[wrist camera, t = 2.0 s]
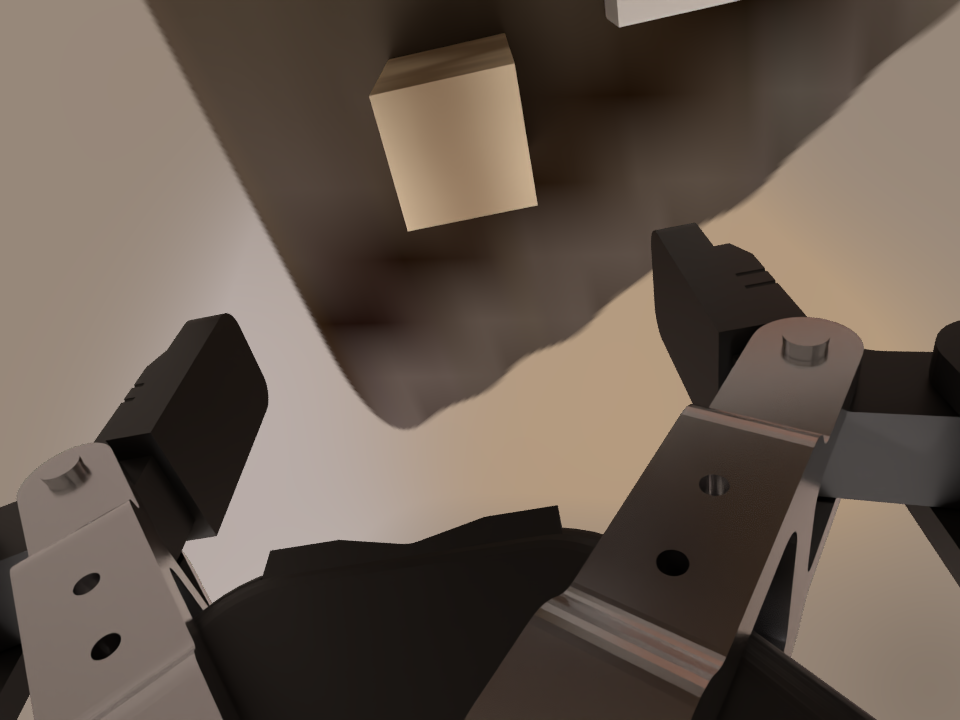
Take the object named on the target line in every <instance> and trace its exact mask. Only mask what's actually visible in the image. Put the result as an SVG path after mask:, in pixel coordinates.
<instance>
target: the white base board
mask: <svg viewBox="0 0 960 720" xmlns="http://www.w3.org/2000/svg"><path fill="white" fill-rule="evenodd" d="M604 1H605V13H606V18H607V19H608V20H610V21H611V22H612V23H614V24H615V25H616V26H618V27H623V26H628V25H632V24H637V23H641V22H645V21H650V20H654V19H659V18H663V17H668V16H672V15H676V14H681V13H685V12H690V11H694V10H699V9H703V8H707V7H712V6H716V5H721V4H725V3H730V2H734V1H738V0H604Z"/></svg>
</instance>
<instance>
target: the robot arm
mask: <svg viewBox="0 0 960 720" xmlns="http://www.w3.org/2000/svg"><path fill="white" fill-rule="evenodd" d="M651 250H652V267H653V283H654V301H655V313H656V319H657V324H658V328H659V332H660V335H661V338H662V340H663V342H664V344H665V346H666V349H667V351H668V353H669V355H670V357H671V359H672V361H673V363H674V365H675V367H676V370H677V372H678V374H679V376H680V378H681V380H682V382H683V384H684V386H685V388H686V390H687V392H688V395H689V397H690V399H691V401H692V403H693V404H690V405H688V406H687V407H686V408H685V409H684V410H683V412H682V413H681V415H680V416H679V418H678V419H677V421H676V422H675V424H674V426H673V427H672V429H671V430H670V432H669V433H668V435H667V436H666V438H665V439H664V441H663V443H662V444H661V446H660V447H659V449H658V450H657V452H656V454H655V455H654V457H653V458H652V460H651V461H650V463H649V464H648V466H647V467H646V469H645V471H644V472H643V474H642V475H641V477H640V478H639V480H638V481H637V483H636V485H635V486H634V488H633V489H632V491H631V492H630V494H629V496H628V497H627V499H626V500H625V502H624V503H623V505H622V506H621V508H620V510H619V511H618V512H617V514H616V516H615V517H614V519H613V520H612V522H611V523H610V525H609V527H608V528H607V530H606V531H605V533H604V534H600V533H596V532H592V531H586V530H580V529H572V528H562V525H561V520H560V515H559V510H558V506H550V507H544V508H538V509H532V510H526V511H519V512H513V513H506V514H500V515H493V516H488V517H483V518H481V519H478V520H475V521H473V522H470V523H467V524H464V525H461V526H459V527H456V528H453V529H451V530H448V531H445V532H442V533H440V534H437V535H434V536H432V537H429V538H426V539H424V540H421V541H418V542H415V543H411V544H391V543H377V542H362V541H346V540H336V541H330V542H323V543H317V544H310V545H304V546H298V547H291V548H285V549H279V550H272V551H270V554H269V557H268V560H267V564H266V567H265V571H264V574H263V576H260V577H258V578H255V579H253V580H251V581H249V582H247V583H245V584H243V585H241V586H239V587H237V588H235V589H234V590H232V591H230V592H228V593H227V594H225V595H223V596H222V597H221V598H219V599H218V600H216V601H215V602H213V603H212V602H211V600H210V598H209V596H208V594H207V593H206V591H205V589H204V587H203V585H202V583H201V581H200V579H199V578H198V575H197V574H196V572H195V570H194V568H193V566H192V564H191V562H190V561H189V559H188V558H187V556H186V555H185V554H184V552H183V551H182V549H183V546H184V544H185V542H186V541H188V540H195V539H201V538H207V537H213V536H217V534H218V531H219V529H220V526H221V524H222V521H223V518H224V516H225V514H226V511H227V508H228V506H229V503H230V501H231V499H232V496H233V494H234V491H235V488H236V486H237V483H238V481H239V478H240V476H241V473H242V470H243V468H244V466H245V463H246V461H247V458H248V456H249V453H250V451H251V448H252V446H253V443H254V440H255V437H256V436H257V433H258V431H259V428H260V425H261V423H262V420H263V418H264V415H265V413H266V410H267V407H268V390H267V385H266V382H265V379H264V376H263V374H262V372H261V370H260V368H259V366H258V364H257V362H256V360H255V358H254V356H253V353H252V351H251V349H250V347H249V345H248V343H247V341H246V339H245V337H244V335H243V333H242V331H241V328H240V326H239V325H238V323H237V321H236V320H235V318H234V317H233V316H232V315H230V314H227V313H225V314H220V315H215V316H210V317H204V318H199V319H194V320H190V321H187V322H186V324H185V325H184V326H183V328H182V329H181V331H180V332H179V334H178V335H177V336H176V338H175V339H174V341H173V342H172V344H171V345H170V347H169V348H168V350H167V351H166V352H164V353H163V354H162V355H161V356H159V357H158V358H157V359H156V360H155V361H153V362H152V363H151V364H150V365H149V366H147V367H146V369H145V370H144V372H143V373H142V374H141V376H140V377H139V379H138V380H137V382H136V383H135V388H132V389H131V390H130V392H129V393H128V394H127V396H126V397H125V399H124V400H125V402H124V403H121V404H120V406H119V407H118V409H117V410H116V411H115V413H114V414H113V416H112V417H111V419H110V420H109V421H108V423H107V424H106V426H105V427H104V429H103V430H102V431H101V433H100V434H99V436H98V437H97V439H96V440H95V441H94V443H87V444H83V445H80V446H76V447H73V448H71V449H68V450H66V451H64V452H61V453H59V454H58V455H56V456H54V457H52V458H51V459H49V460H47V461H46V462H44V463H43V464H42V465H40V466H39V467H38V468H36V469H35V470H34V471H33V472H32V473H31V474H30V475H29V476H28V477H27V478H26V479H25V481H24V482H23V483H22V485H21V486H20V488H19V490H18V493H17V501H16V502H13V503H11V504H8V505H6V506H3V507H0V720H17V718H18V716H19V714H20V712H21V710H22V708H23V706H24V705H25V703H26V701H27V699H28V697H29V695H30V697H31V703H32V709H33V715H34V720H876V719H875V718H873V717H872V716H871V715H869V714H868V713H867V712H865V711H864V710H862V709H861V708H860V707H858V706H857V705H856V704H854V703H853V702H851V701H850V700H849V699H847V698H846V697H845V696H843V695H842V694H840V693H839V692H838V691H836V690H835V689H833V688H832V687H831V686H829V685H828V684H827V683H825V682H824V681H822V680H821V679H820V678H818V677H817V676H815V675H814V674H813V673H811V672H810V671H808V670H807V669H806V668H804V667H803V666H801V665H800V664H799V663H798V662H796V661H795V660H793V659H792V658H791V655H792V652H793V648H794V645H795V642H796V638H797V634H798V630H799V627H800V622H801V617H802V613H803V609H804V605H805V601H806V597H807V594H808V591H809V588H810V585H811V582H812V579H813V576H814V574H815V571H816V568H817V565H818V562H819V559H820V556H821V554H822V551H823V548H824V545H825V542H826V540H827V537H828V534H829V531H830V528H831V525H832V523H833V519H834V517H835V514H836V511H837V508H838V505H839V503H840V499H841V498H844V499H854V500H866V501H876V502H887V503H899V504H905V505H906V507H907V508H908V510H909V511H910V513H911V514H912V516H913V517H914V519H915V520H916V522H917V523H918V525H919V526H920V528H921V529H922V531H923V532H924V534H925V535H926V537H927V539H928V540H929V542H930V543H931V545H932V546H933V547H934V549H935V551H936V552H937V554H938V555H939V557H940V558H941V560H942V561H943V563H944V564H945V566H946V567H947V568H948V570H949V572H950V573H951V574H952V576H953V577H954V579H955V581H956V582H957V584H958V585H959V587H960V321H957V322H953V323H952V324H949V325H947V326H945V327H944V328H943V329H941V331H940V332H939V333H938V334H937V338H936V341H935V345H934V350H933V352H897V351H874V350H867V349H864V346H863V342H862V340H861V339H860V337H859V336H858V335H857V334H856V333H855V332H853V331H852V330H851V329H849V328H847V327H845V326H844V325H841V324H839V323H836V322H833V321H829V320H825V319H820V318H812V317H807V316H806V315H805V314H804V313H803V312H802V310H801V309H800V308H799V307H798V306H797V305H796V304H795V302H794V301H793V300H792V299H791V298H790V297H789V295H788V294H787V293H786V292H785V291H784V290H783V289H782V287H781V286H780V285H779V284H778V283H775V279H774V278H773V277H772V276H771V275H770V274H769V272H768V271H765V268H764V267H763V266H762V265H761V263H760V262H759V261H758V260H757V259H756V257H754V255H753V254H751V253H750V252H747V251H745V250H743V249H741V248H738V247H736V246H734V245H732V244H730V243H729V244H724V245H718V246H713V245H712V243H711V242H710V241H709V239H708V238H707V237H706V236H705V234H704V233H703V232H702V230H701V229H700V228H699V226H698V225H697V224H696V223H691V224H686V225H681V226H676V227H671V228H665V229H660V230H655V231H653V232H652V236H651Z"/></svg>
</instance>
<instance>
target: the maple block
mask: <svg viewBox="0 0 960 720" xmlns="http://www.w3.org/2000/svg"><path fill="white" fill-rule="evenodd" d="M369 97H370V101H371V104H372V108H373V111H374V115H375V118H376V122H377V125H378V128H379V132H380V135H381V139H382V142H383V146H384V149H385V153H386V156H387V160H388V163H389V167H390V170H391V174H392V177H393V181H394V184H395V188H396V191H397V195H398V198H399V202H400V205H401V209H402V212H403V216H404V219H405V223H406V226H407V230H408V231H412V230H417V229H422V228H427V227H431V226H436V225H441V224H446V223H451V222H456V221H461V220H466V219H471V218H476V217H481V216H486V215H491V214H496V213H501V212H506V211H511V210H516V209H521V208H526V207H531V206H536V205H537V199H536V193H535V186H534V180H533V174H532V168H531V162H530V155H529V149H528V143H527V137H526V131H525V125H524V118H523V112H522V106H521V100H520V94H519V87H518V81H517V75H516V69H515V63H514V60H513V57H512V54H511V51H510V48H509V45H508V41H507V38H506V35H505V33H502V34H498V35H494V36H489V37H485V38H481V39H476V40H472V41H468V42H463V43H459V44H454V45H450V46H446V47H441V48H437V49H433V50H428V51H424V52H419V53H415V54H411V55H406V56H402V57H398V58H393V59H389V60H388V61H387V63H386V65H385V67H384V69H383V71H382V73H381V75H380V76H379V78H378V80H377V82H376V84H375V86H374V88H373V90H372V92H371V93H370V95H369Z"/></svg>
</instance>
